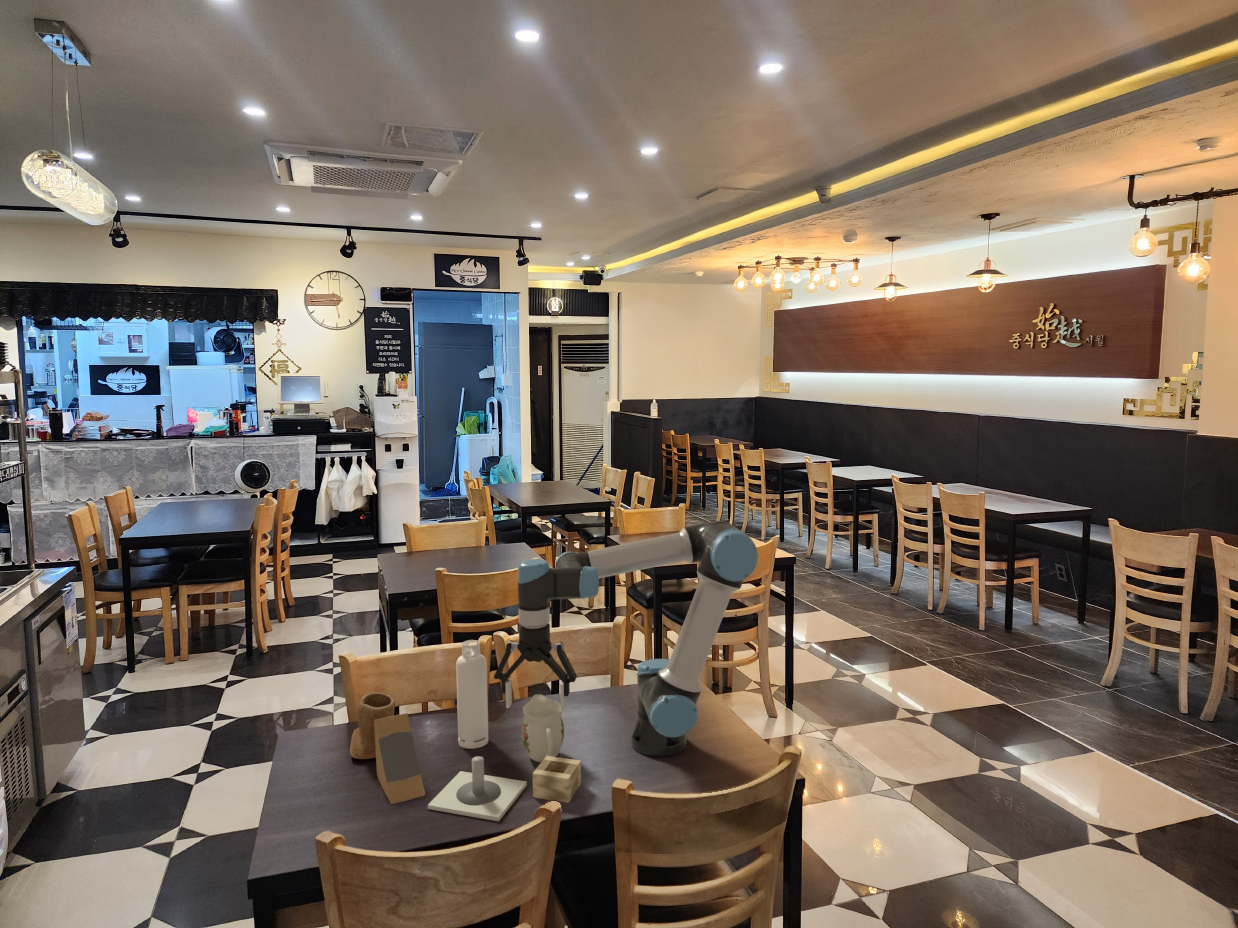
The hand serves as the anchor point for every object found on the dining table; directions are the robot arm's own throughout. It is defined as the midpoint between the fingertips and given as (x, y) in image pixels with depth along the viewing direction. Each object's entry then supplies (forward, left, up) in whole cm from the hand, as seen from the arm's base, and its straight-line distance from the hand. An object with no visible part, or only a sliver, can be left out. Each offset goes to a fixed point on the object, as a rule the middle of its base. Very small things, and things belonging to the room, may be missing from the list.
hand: (536, 706), depth 194 cm
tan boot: (+48, -2, -19) cm, 52 cm away
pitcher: (+2, -10, -19) cm, 22 cm away
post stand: (+10, +12, -19) cm, 24 cm away
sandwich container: (+31, +12, -19) cm, 38 cm away
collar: (-7, +4, -19) cm, 20 cm away
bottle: (+24, -13, -19) cm, 33 cm away
